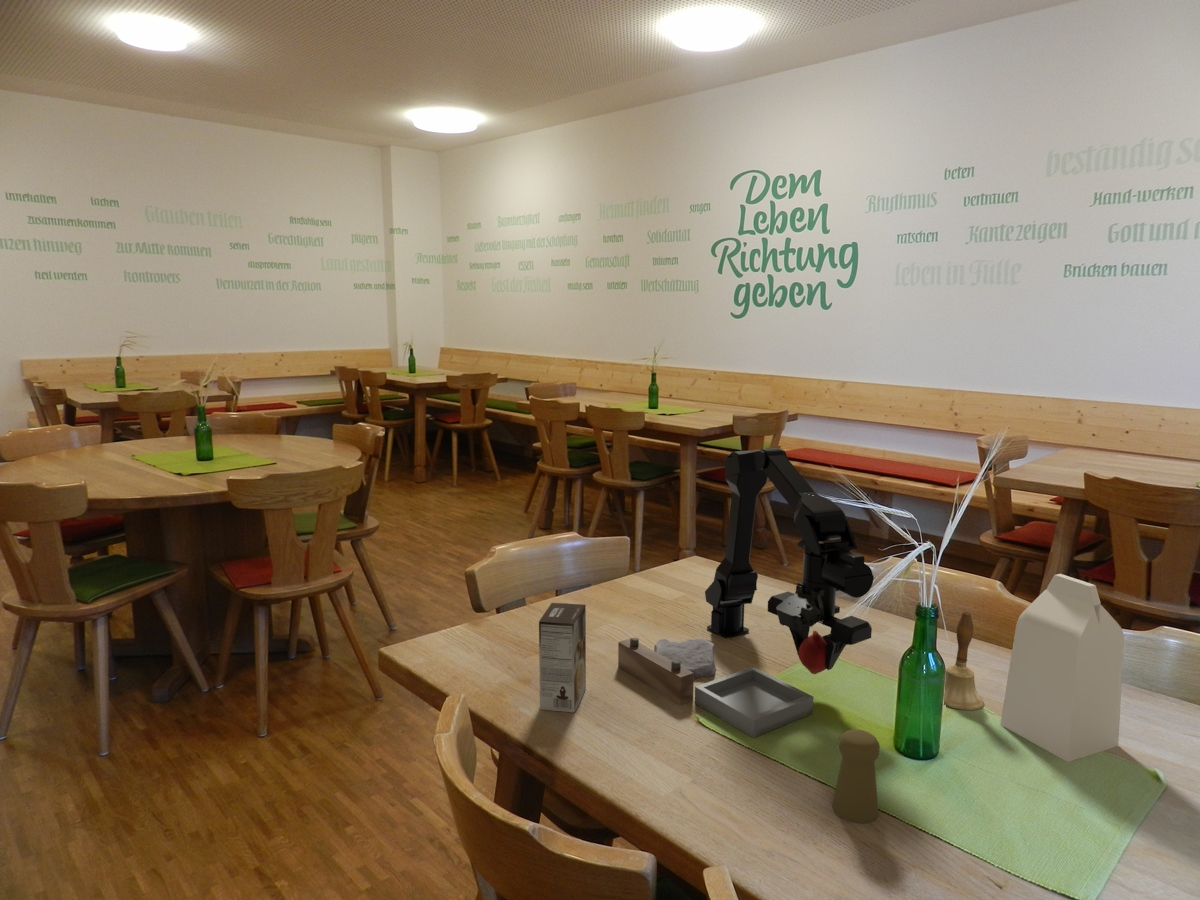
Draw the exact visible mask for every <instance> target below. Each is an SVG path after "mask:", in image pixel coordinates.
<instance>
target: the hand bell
mask: <svg viewBox="0 0 1200 900" xmlns="http://www.w3.org/2000/svg"><path fill="white" fill-rule="evenodd" d="M973 635H974V623H973V619H972V614H971V612H970V611H963V612H962V614H961V616H960V618H959V619H958V622H957V625H956V641H957V645H958V647H957V653H956V658H955V659H956V660H955V664H953V665H949V666H947V667H946V670H945V674H946V681H945V693H944V704H943V706H946V707H948V708H951V709H952V708H953V709H956V710H962V711H964V710H965V711H975V710H980V709H981V708H983V707H984V704H985V701H984V700H983V699H984V698H983V697H982V696H981V695H980V694H979V693H978V690H977V687H976V682H975V681H976V680H975V672H974V671H973V670H972V669H971V668H969V667H968V666H967V662H968V651H969V650H968V649H969V646H970V644H971V642H972V639H973Z"/></svg>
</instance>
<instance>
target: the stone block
mask: <svg viewBox="0 0 1200 900" xmlns="http://www.w3.org/2000/svg"><path fill="white" fill-rule="evenodd" d="M653 651H655V652H657V653H659V654H660V655H662V656H664V657H666V658H668V659H669V660H671V661H674V660H677V661H680V662H681V666H682V667H684V668H686V669H688V670H689V671H691V672H693V673H694V678H697V677H698V678H700V677H710V676H714V675H715V674H716V673H717V672H716V671H717V667H716V664H715V651H716V649H715V643H713V642H711V641H710V640H707V639H704V638H695V639H694V638H693V639H687V640H684V641H671V640H668V639H666V638H664V639H659V640H658V641H657V642H655V644H654V646H653Z"/></svg>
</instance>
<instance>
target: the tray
mask: <svg viewBox="0 0 1200 900" xmlns="http://www.w3.org/2000/svg"><path fill="white" fill-rule="evenodd" d="M814 697H815V696H813V695H811V694H809V693H807V692H805V691H803V690H801V689H799V688H797V687H796V686H793V685H791V684H789V683H787V682H785V681H783V680H782V679H779V678H777V677H775V676H773V675H771V674H769V673H767V672H765V671H763V670H761V669H759V668H757V667H755V666H751V667H748V668H745V669H742V670H740V671H739V670H738V671H737V672H733V673H730V674H727V675H724V676H722V677H719V678H716V679H713V680H710V681H707V682H705V683H702V684H699V685H697V686H694V703H695V705H698V706H699V707H701V708H703V709H704V710H706V711H708V712H710V713H711V714H713V715H714V716H716V717H718V718H719V719H720V720H723V721H724V722H726V723H727V724H730V725H731V726H733V727H734V728H736V729H738V730H739V731H740V732H743V733H744V734H746V735H748V736H750V737H751V738H753V739H754V738H757V737H759V736H761V735H765V734H766V733H769V732H771V731H774V730H776V729H778V728H781V727H783V726H786V725H788V724H790V723H793V722H795V721H797V720H799V719H802V718H804V717H807V716H809V715H811V714H813V712H814Z"/></svg>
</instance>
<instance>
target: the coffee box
mask: <svg viewBox="0 0 1200 900" xmlns="http://www.w3.org/2000/svg"><path fill="white" fill-rule="evenodd" d="M586 607H587V605H586V604H585V603H584V604H582V603H581V604H580V603H567V602H566V603H564V602H561V603H560V602H551V603H550V605H549V606H548V607H547V609H546V611H545V612H544V613H543V615H542V616H541V618H540V619H539V621H538V643H539V644H538V650H539V651H538V655H539V658H538V659H539V663H538V664H539V709H540V710H542V711H543V710H544V711H554V712H565V713H575V712H576V711H577V708H578V707H579V704H580V703H581V700H582V698H583V696H584V693H585V691H586V689H587V679H586V677H587V670H586V668H587V666H586V664H587V663H586V661H587V655H586V654H587V652H586V651H587V650H586V648H587V645H586V639H587V637H586V635H587V634H586V633H587V632H586V631H587V630H586V625H587V624H586V623H587V622H586V621H587V620H586V619H587V618H586V612H587V611H586V610H587V609H586Z"/></svg>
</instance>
